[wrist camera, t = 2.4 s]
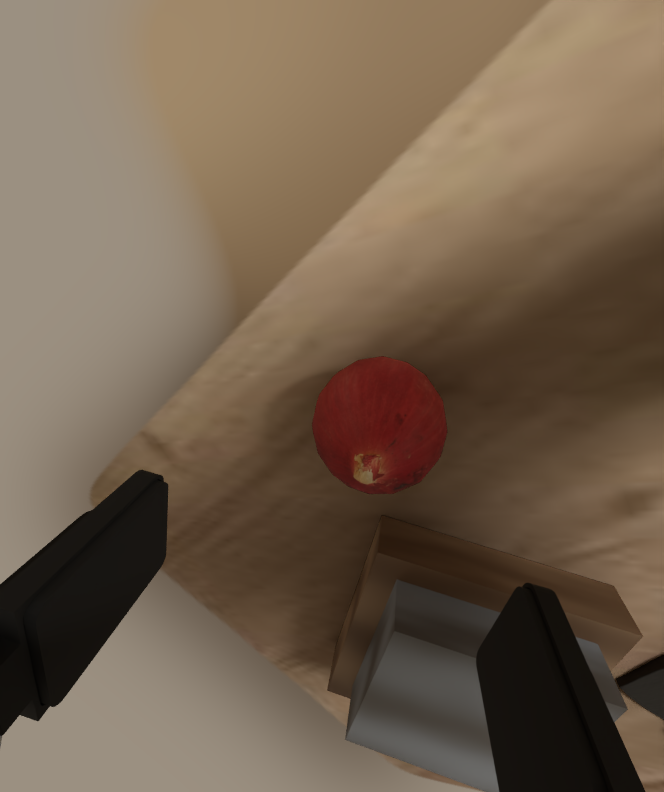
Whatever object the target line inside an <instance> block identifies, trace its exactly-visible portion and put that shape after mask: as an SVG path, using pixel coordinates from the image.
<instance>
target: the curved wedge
mask: <svg viewBox="0 0 664 792" xmlns="http://www.w3.org/2000/svg"><path fill="white" fill-rule="evenodd" d="M616 680H617V682H618V685H619V687H620V688H621V689H622V690H623V691H624V692H625V693H626V694H627V695H628V696H629V697H630V698H632V699H633V700H634V701H636V702H637V703H638V704H640V705H641V706H642V707H644V708H645V709H647V710H649V711H650V712H652V713H653V714H655V715H657V716H658V717H660V718H661V719H663V720H664V655H662V656H660V657H658V658H656V659H654V660H652V661H650V662H648V663H646V664H645V665H643V666H641V667H639V668H637V669H635V670H633V671H631V672H630V673H628V674H626V675H624V676H621V677H619V678H617V679H616Z"/></svg>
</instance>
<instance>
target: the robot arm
mask: <svg viewBox="0 0 664 792" xmlns="http://www.w3.org/2000/svg"><path fill="white" fill-rule="evenodd" d="M167 510H168V484H167V483H165V482H164V478H163V476H161V475H158V474H155V473H151V472H148V471H144V470H139V471H137V472H136V473H135V474H133V475H132V476H131V477H130V478H129V479H128V480H127V481H125V482H124V483H123V484H122V485H121V486H120V487H118V488H117V489H116V490H115V491H114V492H113V493H112V494H110V495H109V496H108V497H107V498H106V499H105V500H103V501H102V502H101V503H100V504H99V505H98V506H97V507H95V508H94V509H93V510H91V511H89V512H86V513H85V514H83V515H82V516H80V517H79V518H78V519H76V520H75V521H74V522H73V523H72V524H71V525H69V526H68V527H67V528H66V529H65V530H64V531H63V532H61V533H60V534H59V535H58V536H57V537H56V538H54V539H53V540H52V541H51V542H50V543H48V544H47V545H46V546H45V547H44V548H42V550H40V551H39V552H38V553H37V554H35V556H33V557H32V558H31V559H30V560H28V561H27V562H26V563H25V564H24V565H23V566H21V567H20V568H19V569H18V570H17V571H16V572H15V573H13V574H12V575H11V576H10V577H8V578H7V579H6V580H5V581H4V582H3V583H2V584H0V746H1V738H2V735H3V734H4V733H5V732H6V731H7V730H8V728H9V727H10V726H11V725H12V724H13V722H14V721H15V720H16V719H17V717H18V716H19V715H22V716H24V717H27V718H30V719H33V720H36V721H39V720H40V718H41V717H42V716H43V714H44V713H45V712H46V710H47V709H48V708H49V707H50V706H51V707H55V706H56V705H58V704H59V703H60V702H61V701H62V700H63V699H64V697H65V696H66V695H67V693H68V692H69V691H70V690H71V688H72V687H73V685H74V684H75V683H76V681H77V680H78V679H79V677H80V676H81V675H82V673H83V672H84V671H85V669H86V668H87V667H88V665H89V664H90V662H91V661H92V660H93V658H94V657H95V656H96V654H97V653H98V652H99V650H100V649H101V647H102V646H103V645H104V643H105V642H106V641H107V639H108V638H109V637H110V635H111V634H112V633H113V631H114V630H115V629H116V627H117V626H118V625H119V623H120V622H121V620H122V619H123V618H124V616H125V615H126V614H127V612H128V611H129V609H130V608H131V607H132V605H133V604H134V603H135V601H136V600H137V599H138V597H139V596H140V595H141V593H142V592H143V591H144V589H145V588H146V587H147V585H148V584H149V583H150V581H151V580H152V578H153V577H154V576H155V574H156V573H157V572H158V570H159V569H160V568H161V566H162V564H163V562H164V560H165V557H166V542H167ZM476 667H477V672H478V678H479V683H480V689H481V694H482V700H483V705H484V711H485V716H486V722H487V727H488V733H489V738H490V744H491V749H492V755H493V760H494V766H495V771H496V776H497V782H498V787H499V792H645V790H644V788H643V785H642V783H641V781H640V779H639V777H638V774H637V772H636V770H635V768H634V765H633V763H632V761H631V759H630V757H629V754H628V752H627V750H626V748H625V745H624V743H623V741H622V739H621V737H620V734H619V732H618V730H617V728H616V725H615V723H614V721H613V719H612V716H611V714H610V712H609V710H608V708H607V705H606V703H605V701H604V699H603V696H602V694H601V692H600V690H599V688H598V685H597V683H596V681H595V679H594V676H593V674H592V672H591V671H590V668H589V666H588V664H587V662H586V659H585V657H584V655H583V653H582V651H581V648H580V646H579V644H578V642H577V639H576V637H575V635H574V633H573V630H572V628H571V626H570V624H569V622H568V619H567V617H566V615H565V613H564V610H563V608H562V606H561V604H560V601H559V599H558V597H557V595H556V593H555V592H554V591H553V590H552V589H549V588H545V587H542V586H538V585H535V584H531V583H525V584H524V585H523V586H522V587H520V586H518V587H516V589H515V590H514V592H513V593H512V595H511V596H510V598H509V600H508V601H507V603H506V605H505V606H504V608H503V610H502V611H501V613H500V615H499V616H498V618H497V620H496V621H495V623H494V625H493V626H492V628H491V629H490V631H489V633H488V634H487V636H486V638H485V639H484V641H483V643H482V644H481V646H480V648H479V649H478V652H477V656H476Z"/></svg>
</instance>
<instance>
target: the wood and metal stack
mask: <svg viewBox="0 0 664 792" xmlns="http://www.w3.org/2000/svg"><path fill="white" fill-rule="evenodd" d="M525 583H531V584H535V585H538V586H542V587H545V588H549V589H552V590H553V591H554V592H555V593H556V595H557V597H558V599H559V601H560V604H561V606H562V608H563V610H564V613H565V615H566V617H567V619H568V622H569V624H570V626H571V628H572V630H573V633H574V635H575V637H576V639H577V642H578V644H579V646H580V648H581V651H582V653H583V655H584V657H585V659H586V662H587V664H588V666H589V668H590V671H591V672H592V674H593V676H594V679H595V681H596V683H597V685H598V688H599V690H600V692H601V694H602V696H603V699H604V701H605V703H606V705H607V708H608V710H609V712H610V714H611V716H612V719H613V721H614V722H615V721H616V720H617V719H618V718H619V717H620V716H621V715H622V714H623V713H624V712H625V711H626V710H628V709H627V706H626V704H625V702H624V700H623V698H622V696H621V693H620V691H619V689H618V687H617V685H616V682H615V680H614V678H613V676H612V674H611V670H612V669H613V668H614V667H615V666H616V665H617V664H618V663H619V662H620V660H621V659H622V658H623V657H624V656H625V655H626V654H627V653H628V652H629V651H630V650H631V649H632V648H633V647H634V646H635V644H636V643H637V642H638V641H639V640H640V639H641V638H642V637H643V635H642V634H641V632H640V630H639V629H638V627H637V625H636V623H635V622H634V620H633V618H632V616H631V615H630V613H629V611H628V610H627V608H626V606H625V604H624V603H623V601H622V599H621V597H620V596H619V594H618V592H617V591H616V589H615V587H614V586H612V585H608V584H605V583H602V582H598V581H595V580H592V579H589V578H585V577H582V576H579V575H576V574H572V573H569V572H566V571H563V570H559V569H556V568H553V567H549V566H546V565H543V564H540V563H536V562H533V561H530V560H527V559H523V558H520V557H517V556H513V555H510V554H507V553H504V552H500V551H497V550H494V549H491V548H487V547H484V546H481V545H478V544H474V543H471V542H468V541H464V540H461V539H458V538H455V537H451V536H448V535H445V534H442V533H438V532H435V531H432V530H428V529H425V528H422V527H419V526H415V525H412V524H409V523H406V522H402V521H399V520H396V519H393V518H389V517H386V516H383V515H382V516H381V519H380V522H379V524H378V527H377V530H376V533H375V536H374V539H373V542H372V544H371V547H370V550H369V553H368V556H367V559H366V562H365V564H364V567H363V570H362V573H361V576H360V579H359V582H358V584H357V587H356V590H355V593H354V596H353V599H352V602H351V604H350V607H349V610H348V613H347V616H346V619H345V621H344V624H343V627H342V630H341V633H340V636H339V639H338V641H337V644H336V647H335V652H334V657H333V663H332V668H331V673H330V679H329V684H328V689H327V690H328V691H330V692H333V693H336V694H339V695H342V696H344V697H347V698H350V699H351V700H350V708H349V715H348V723H347V730H346V738H345V740H347V741H350V742H353V743H355V744H358V745H361V746H364V747H366V748H369V749H372V750H374V751H377V752H380V753H382V754H385V755H388V756H391V757H393V758H396V759H399V760H401V761H404V762H407V763H410V764H412V765H415V766H418V767H420V768H423V769H426V770H428V771H431V772H434V773H437V774H439V775H442V776H445V777H447V778H450V779H453V780H456V781H458V782H461V783H464V784H466V785H469V786H472V787H474V788H477V789H480V790H483V791H485V792H499V787H498V782H497V776H496V771H495V766H494V760H493V755H492V749H491V744H490V738H489V733H488V727H487V722H486V716H485V711H484V705H483V700H482V694H481V689H480V683H479V678H478V672H477V667H476V656H477V652H478V649H479V648H480V646H481V644H482V643H483V641H484V639H485V638H486V636H487V634H488V633H489V631H490V629H491V628H492V626H493V625H494V623H495V621H496V620H497V618H498V616H499V615H500V613H501V611H502V610H503V608H504V606H505V605H506V603H507V601H508V600H509V598H510V596H511V595H512V593H513V592H514V590H515V589H516V587H518V586H520V587H522V586H523V585H524V584H525Z"/></svg>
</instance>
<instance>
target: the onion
mask: <svg viewBox="0 0 664 792" xmlns="http://www.w3.org/2000/svg"><path fill="white" fill-rule="evenodd" d="M312 427H313V434H314V438H315V442H316V447H317V451H318V454H319V455H320V457H321V459H322V460H323V461H324V463H325V464H326V466H327V467H328V469H329V470H330V472H331V473H332V474H333V475H334V476H335V477H337V478H338V479H339V480H341V481H342V482H343V483H345V484H346V485H347V486H349V487H351V488H354V489H356V490H359V491H362V492H365V493H368V494H394V493H396V492H398V491H401V490H403V489H405V488H408V487H410V486H413V485H415V484H417V483H419V482H421V480H422V479H423V478H424V477H425V476H426V474H427V473H428V472H429V471H430V470H431V468H432V467H433V466H434V465H435V463H436V462H437V461H438V459H439V458H440V456H441V453H442V450H443V446H444V442H445V439H446V435H447V424H446V418H445V411H444V405H443V400H442V399H441V397H440V396H439V394H438V393H437V391H436V390H435V388H434V387H433V385H432V384H431V382H430V381H429V379H428V378H427V376H426V375H424V374H423V373H422V372H420V371H419V370H417V369H416V368H414V367H413V366H411V365H410V364H409V363H407V362H404V361H400V360H396V359H392V358H388V357H384V356H381V357H375V358H368V359H362V360H358V361H356V362H354V363H353V364H351V365H349V366H347V367H346V368H344V369H342V370H341V371H339V372H338V373H337V374H336V375H334V376H333V377H332V379H331V380H330V381H329V383H328V384H327V385H326V386H325V388H324V389H323V390H322V392H321V393H320V394H319V397H318V400H317V404H316V408H315V413H314V418H313V422H312Z"/></svg>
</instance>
